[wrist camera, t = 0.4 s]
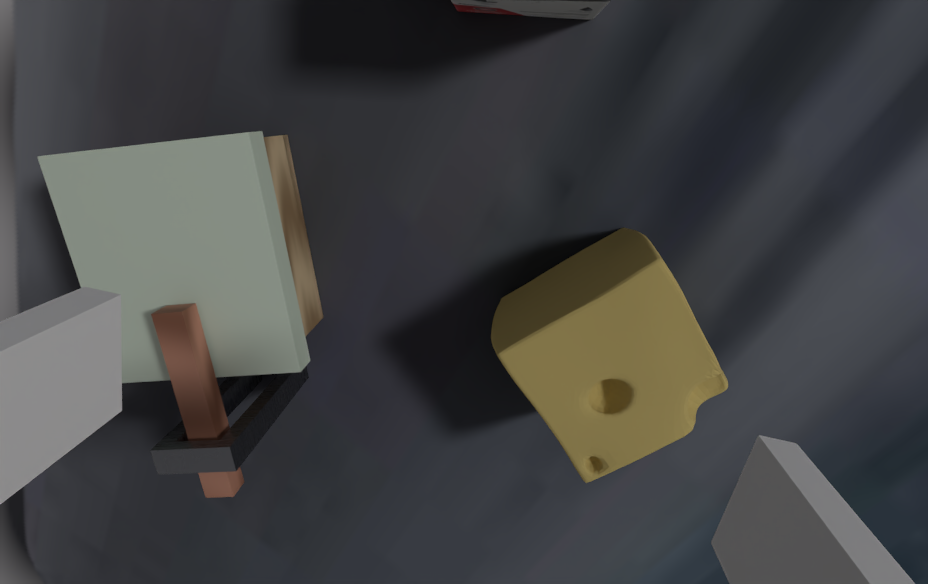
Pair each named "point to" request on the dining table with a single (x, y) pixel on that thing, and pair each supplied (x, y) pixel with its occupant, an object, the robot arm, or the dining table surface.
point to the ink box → (535, 7)
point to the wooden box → (294, 229)
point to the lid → (184, 248)
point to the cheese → (608, 353)
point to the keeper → (240, 438)
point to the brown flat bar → (195, 387)
